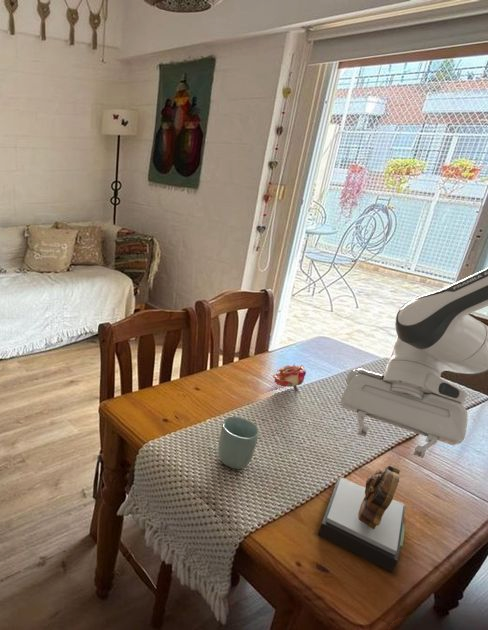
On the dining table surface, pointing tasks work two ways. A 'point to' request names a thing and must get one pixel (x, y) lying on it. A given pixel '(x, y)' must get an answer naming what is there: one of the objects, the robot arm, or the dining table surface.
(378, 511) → the wooden carving
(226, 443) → the cup
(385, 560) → the kitchen scale
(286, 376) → the flower
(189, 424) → the dining table surface
